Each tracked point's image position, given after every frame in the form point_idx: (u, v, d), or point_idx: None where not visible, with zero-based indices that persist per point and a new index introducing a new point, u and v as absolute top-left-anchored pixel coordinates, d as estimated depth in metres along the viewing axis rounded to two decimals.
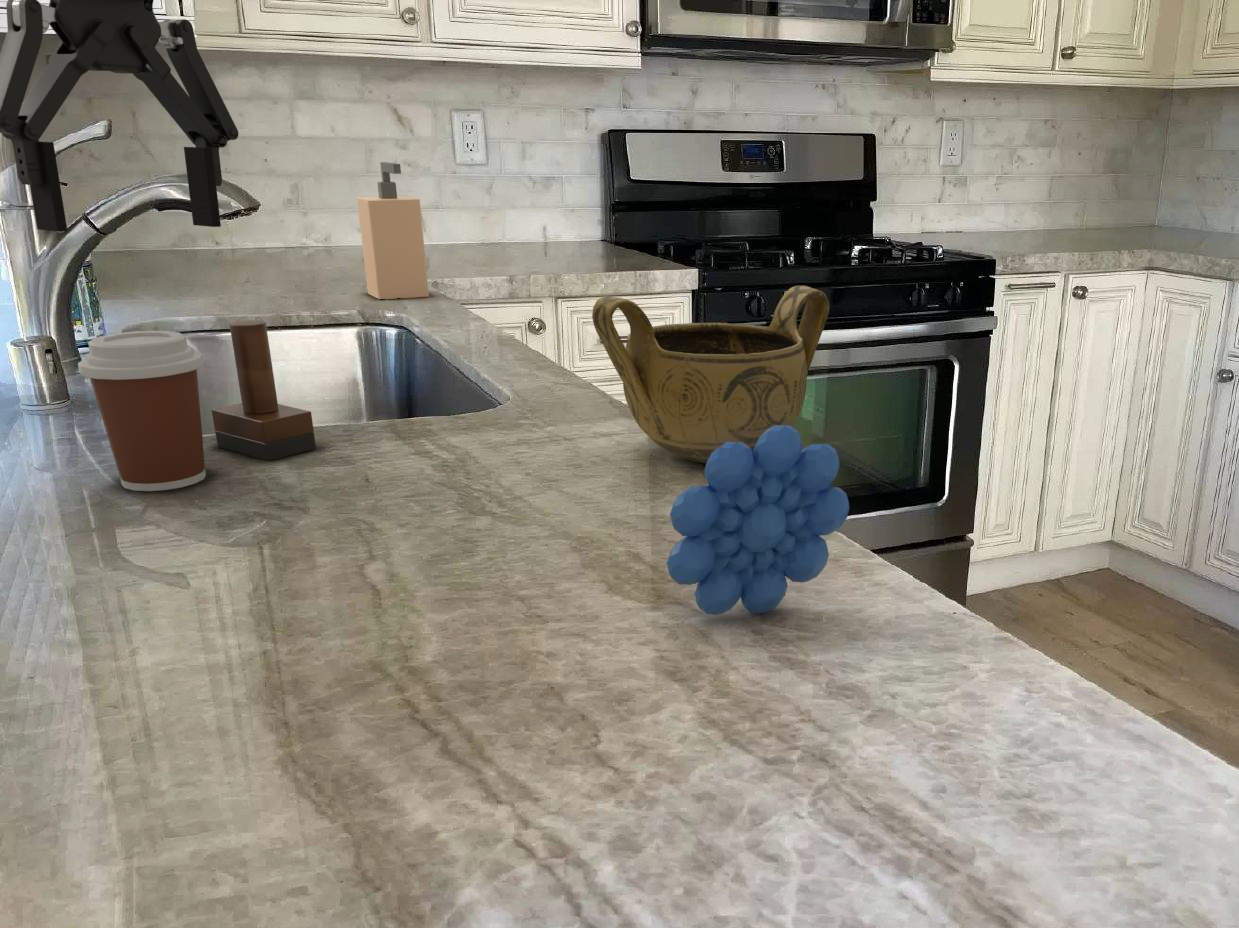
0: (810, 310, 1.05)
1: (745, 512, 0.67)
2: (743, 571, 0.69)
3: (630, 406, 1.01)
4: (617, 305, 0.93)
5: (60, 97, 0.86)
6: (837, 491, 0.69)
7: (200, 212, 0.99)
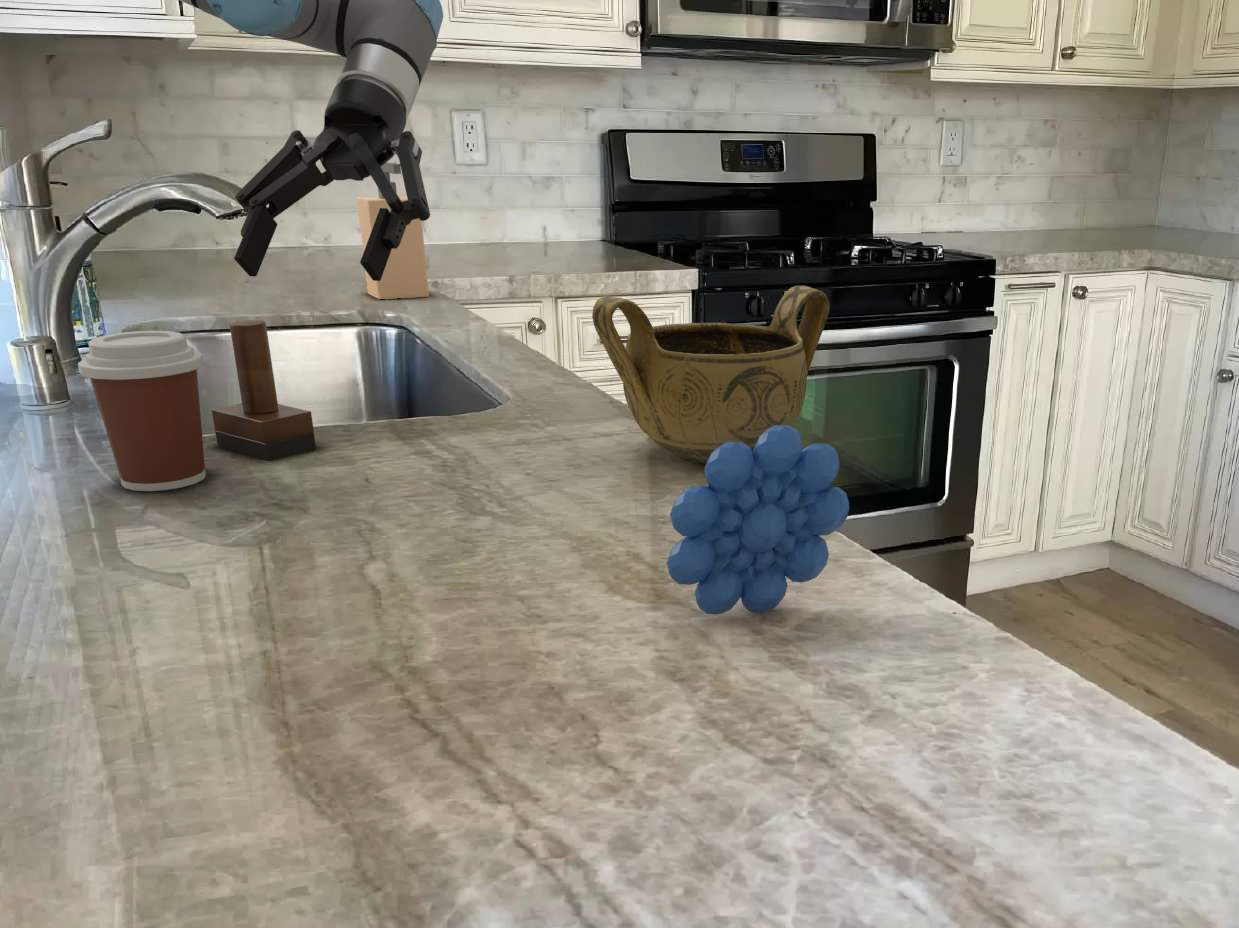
0: (810, 310, 1.05)
1: (745, 512, 0.67)
2: (743, 571, 0.69)
3: (630, 406, 1.01)
4: (617, 305, 0.93)
5: None
6: (837, 491, 0.69)
7: (251, 257, 1.10)
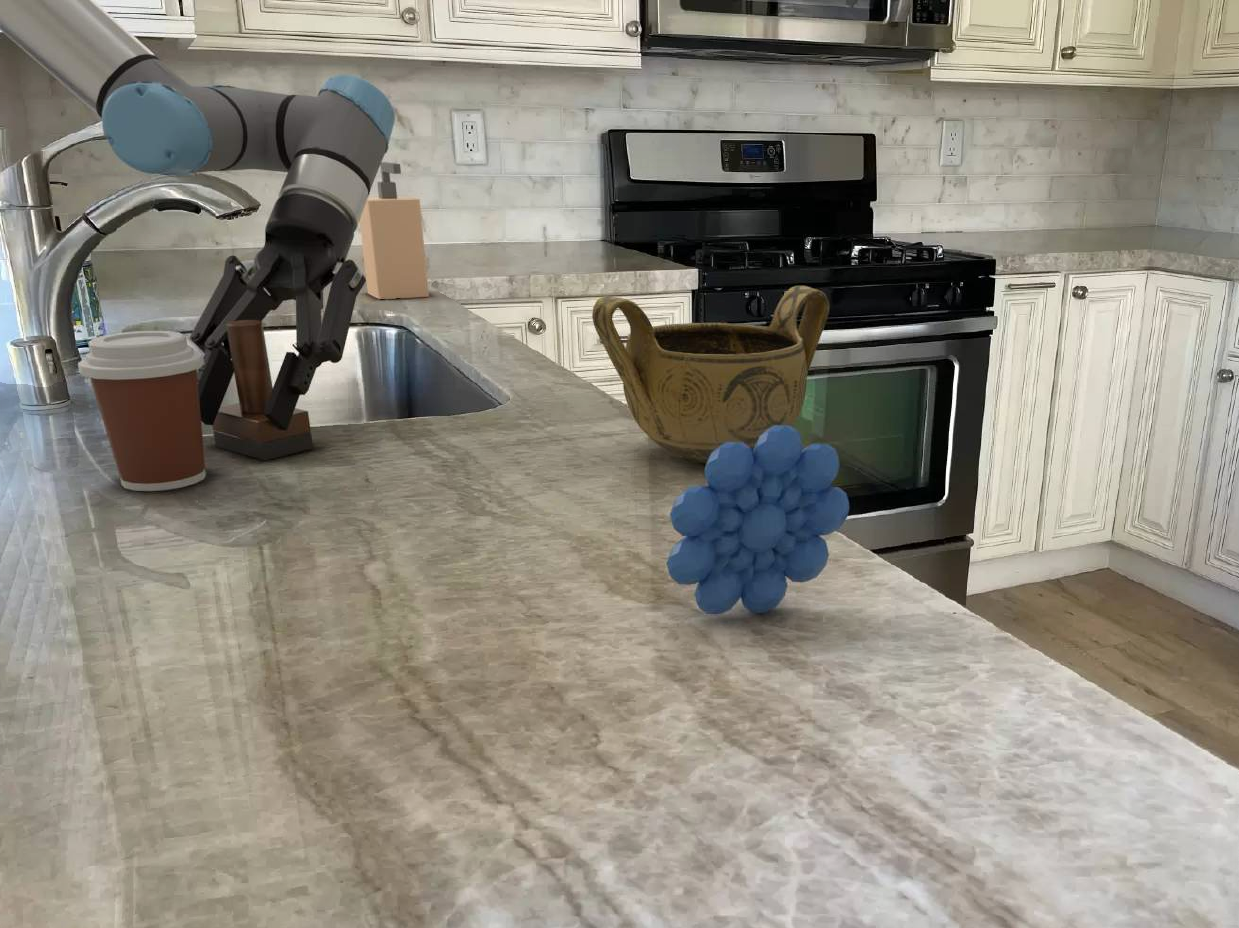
0: (810, 310, 1.05)
1: (745, 512, 0.67)
2: (743, 571, 0.69)
3: (630, 406, 1.01)
4: (617, 305, 0.93)
5: None
6: (837, 491, 0.69)
7: (207, 405, 1.02)
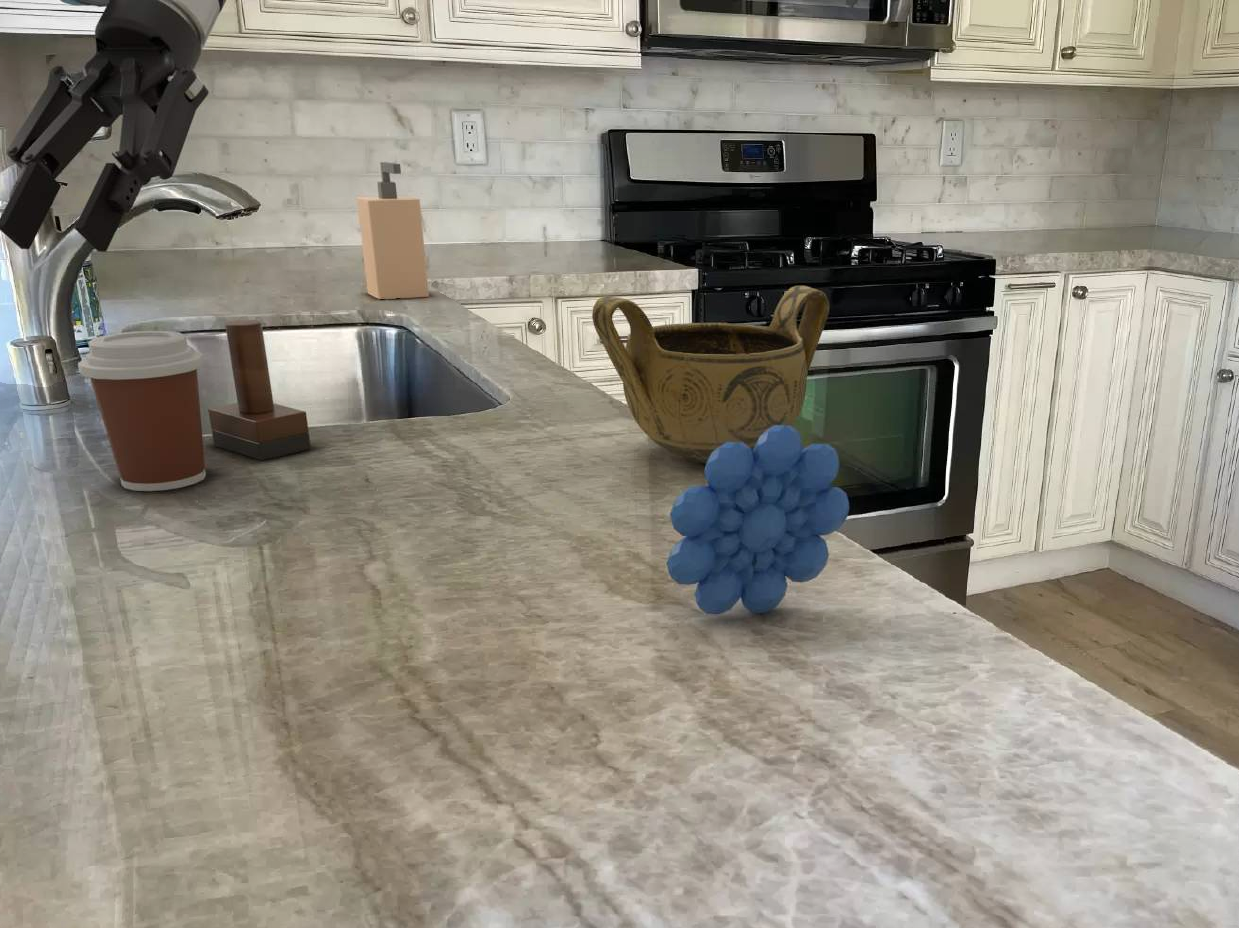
0: (810, 310, 1.05)
1: (745, 512, 0.67)
2: (743, 571, 0.69)
3: (630, 406, 1.01)
4: (617, 305, 0.93)
5: None
6: (837, 491, 0.69)
7: (21, 225, 0.89)
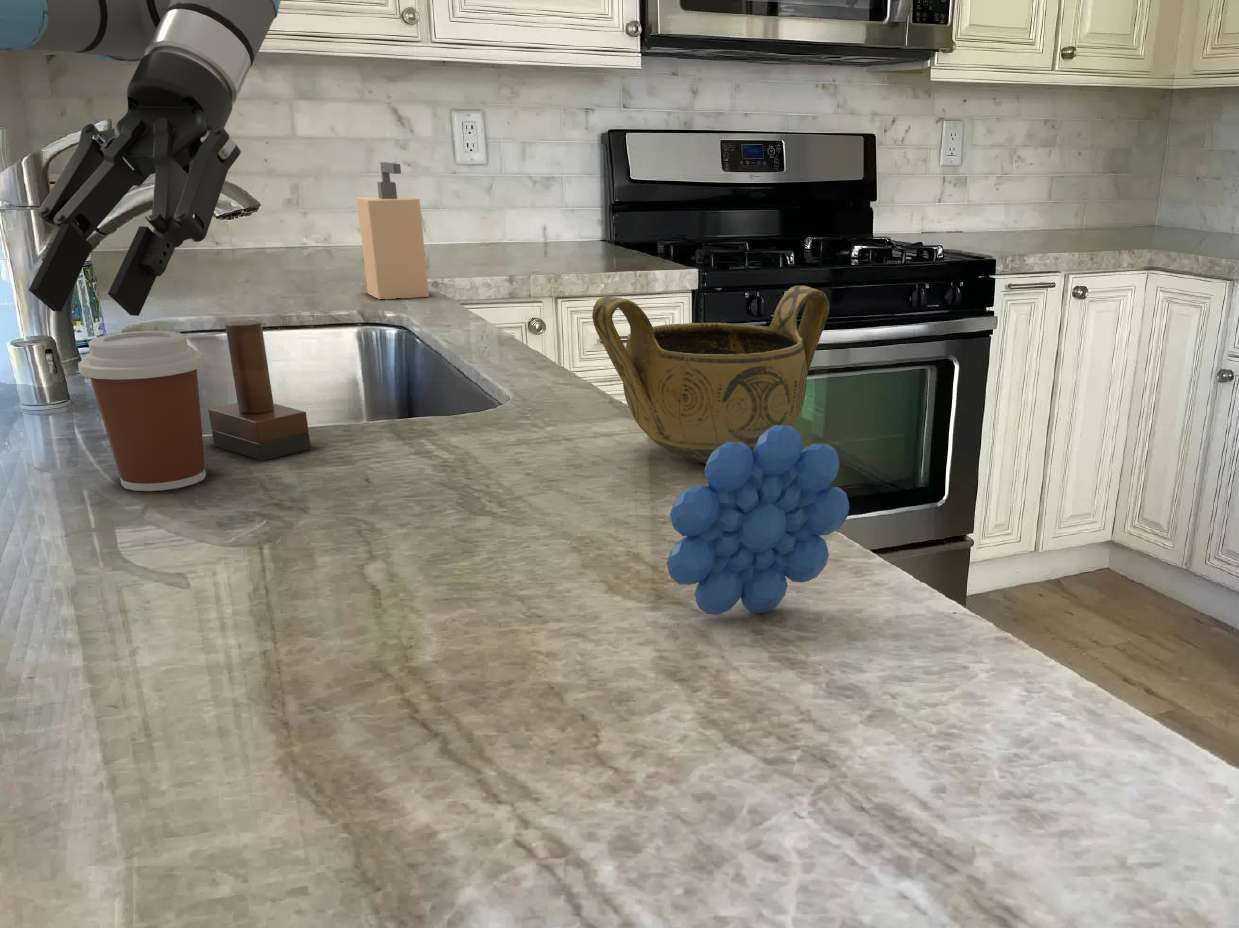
0: (810, 310, 1.05)
1: (745, 512, 0.67)
2: (743, 571, 0.69)
3: (630, 406, 1.01)
4: (617, 305, 0.93)
5: None
6: (837, 491, 0.69)
7: (53, 288, 0.89)
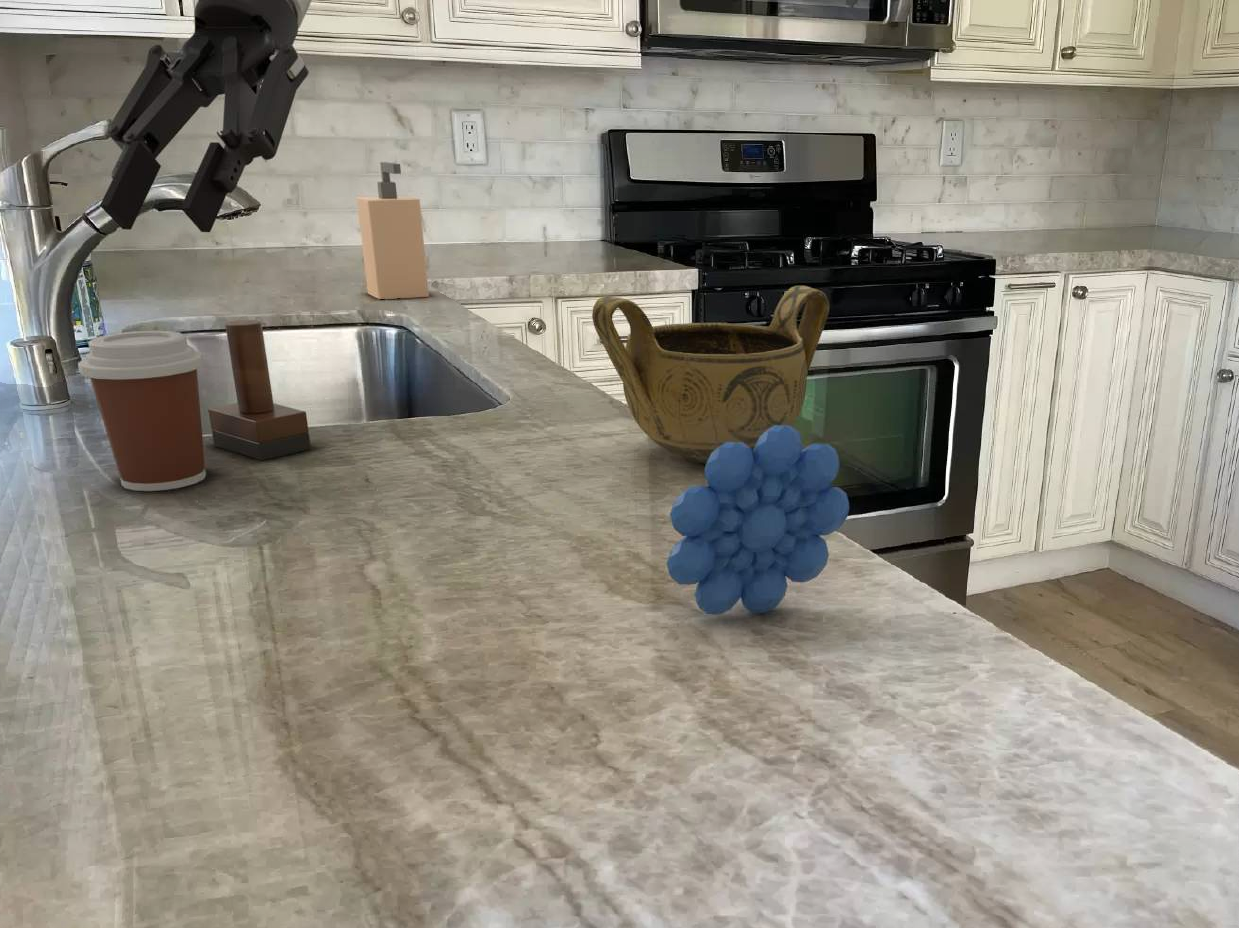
0: (810, 310, 1.05)
1: (745, 512, 0.67)
2: (743, 571, 0.69)
3: (630, 406, 1.01)
4: (617, 305, 0.93)
5: None
6: (837, 491, 0.69)
7: (123, 205, 0.88)
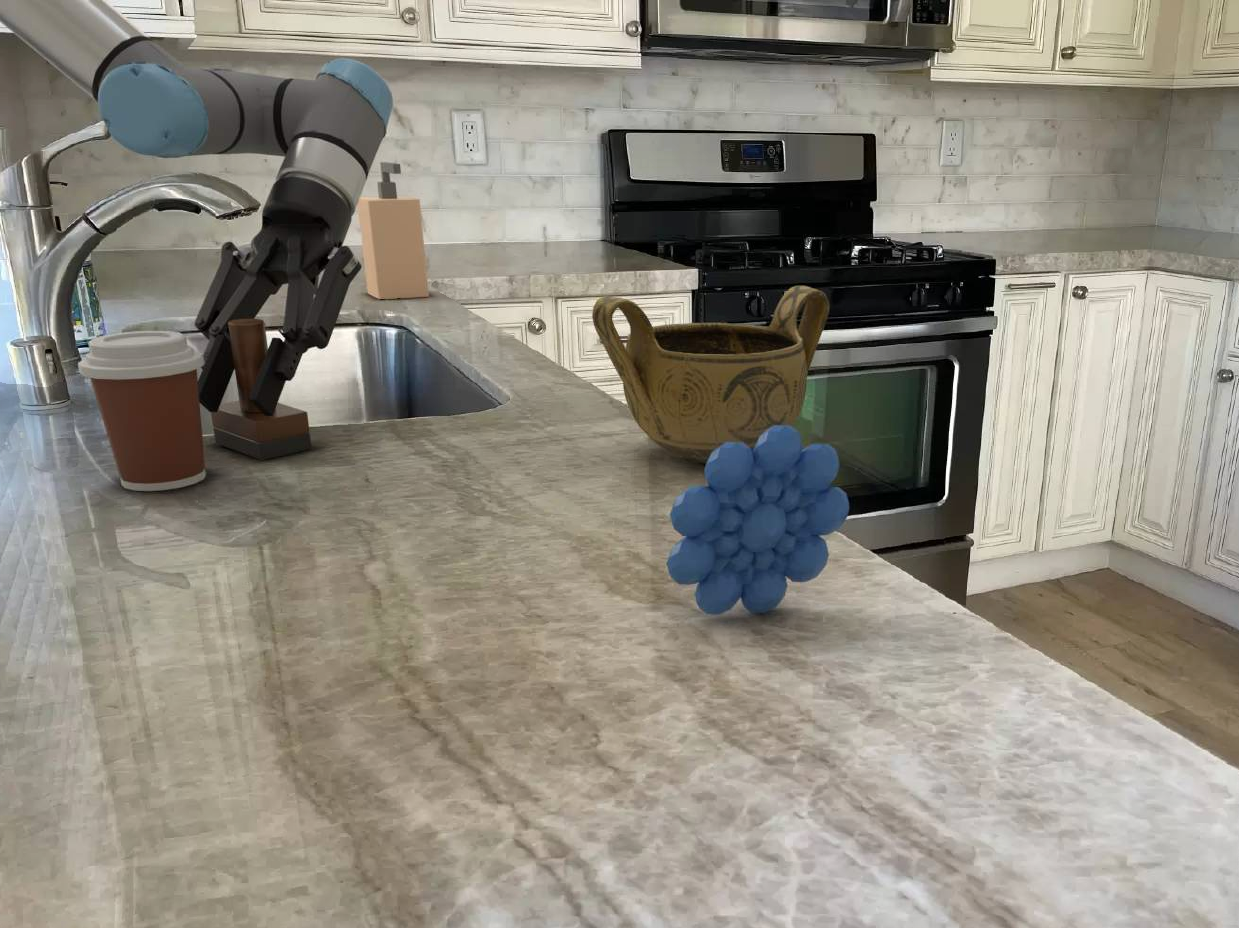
0: (810, 310, 1.05)
1: (745, 512, 0.67)
2: (743, 571, 0.69)
3: (630, 406, 1.01)
4: (617, 305, 0.93)
5: None
6: (837, 491, 0.69)
7: (211, 392, 1.01)
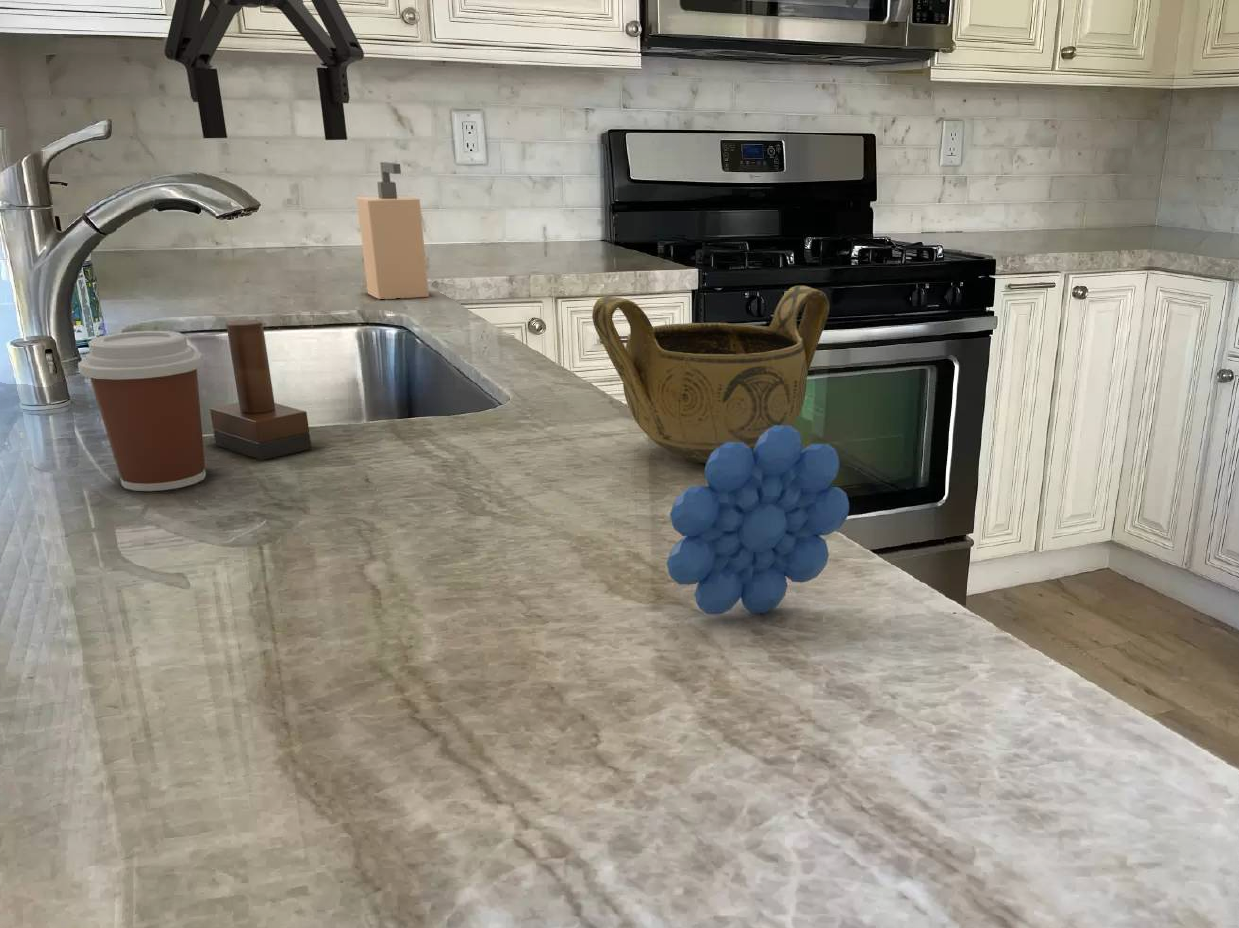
0: (810, 310, 1.05)
1: (745, 512, 0.67)
2: (743, 571, 0.69)
3: (630, 406, 1.01)
4: (617, 305, 0.93)
5: None
6: (837, 491, 0.69)
7: (215, 126, 1.14)
